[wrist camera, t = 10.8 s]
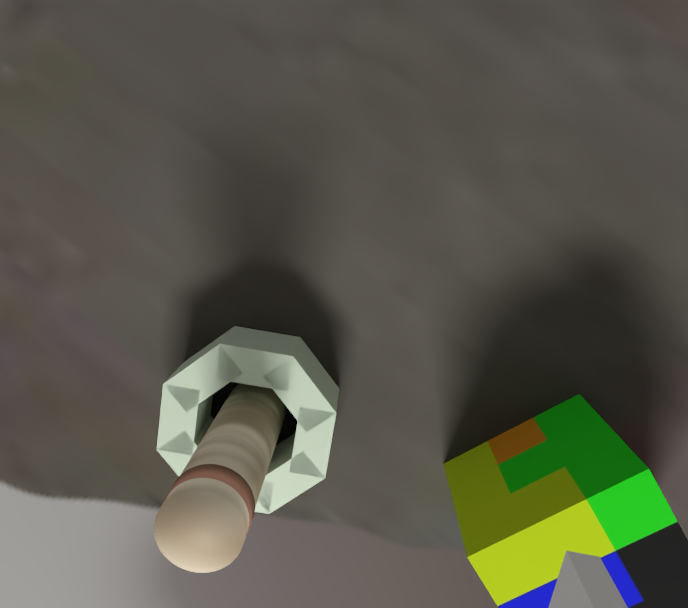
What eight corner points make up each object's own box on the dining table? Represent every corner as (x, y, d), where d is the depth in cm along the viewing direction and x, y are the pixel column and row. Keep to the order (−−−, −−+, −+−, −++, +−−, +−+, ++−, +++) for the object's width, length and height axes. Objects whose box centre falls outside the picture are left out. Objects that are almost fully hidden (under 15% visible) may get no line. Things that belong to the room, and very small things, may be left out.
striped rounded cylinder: (229, 374, 40) (157, 483, 26) (290, 384, 40) (250, 499, 26) (222, 431, 41) (148, 565, 27) (282, 441, 41) (239, 580, 27)
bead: (188, 318, 39) (168, 335, 35) (347, 344, 39) (344, 364, 35) (172, 463, 41) (152, 494, 37) (322, 488, 41) (317, 522, 37)
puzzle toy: (512, 576, 42) (555, 699, 33) (443, 463, 41) (467, 557, 31) (644, 513, 41) (731, 622, 31) (578, 393, 39) (649, 468, 29)
